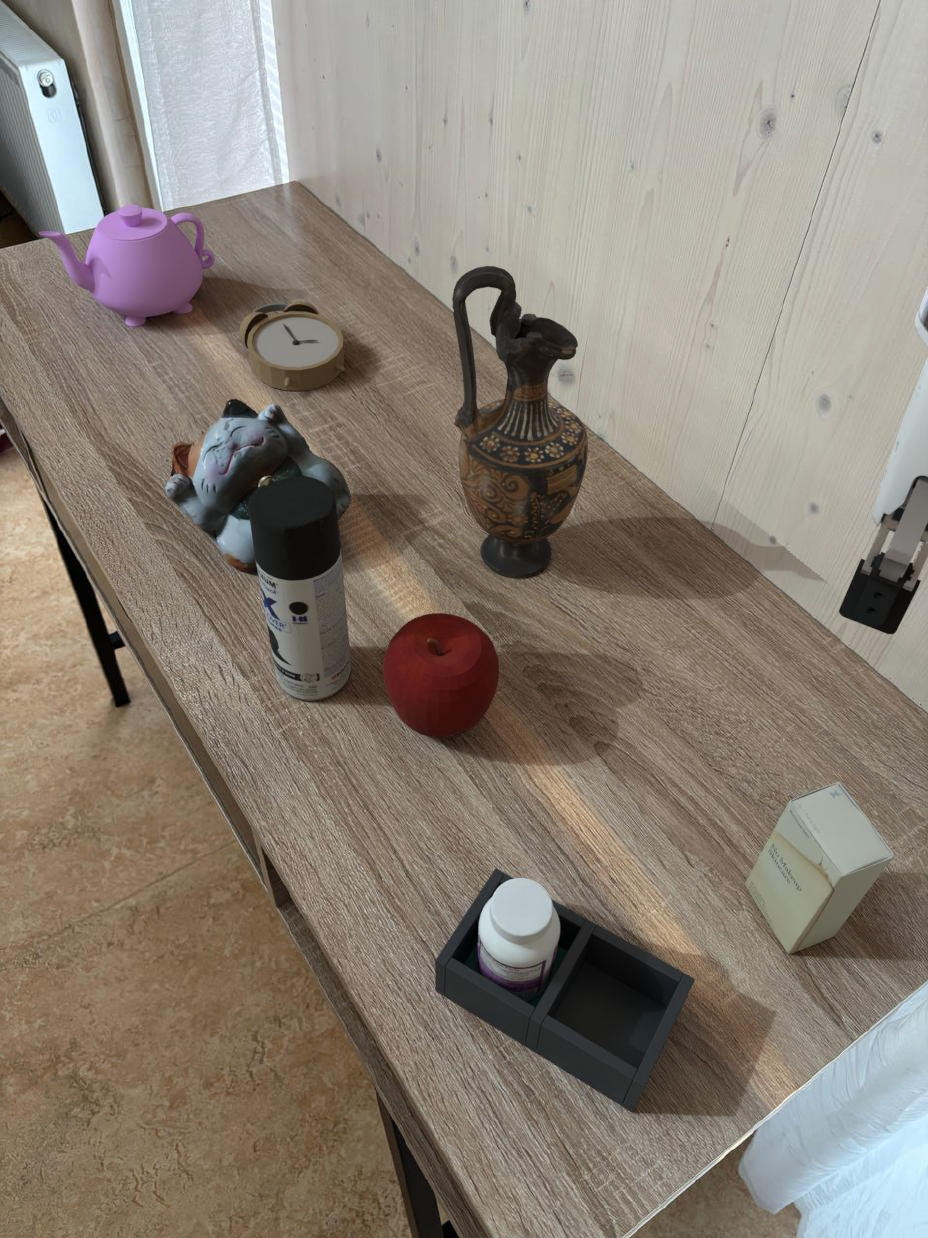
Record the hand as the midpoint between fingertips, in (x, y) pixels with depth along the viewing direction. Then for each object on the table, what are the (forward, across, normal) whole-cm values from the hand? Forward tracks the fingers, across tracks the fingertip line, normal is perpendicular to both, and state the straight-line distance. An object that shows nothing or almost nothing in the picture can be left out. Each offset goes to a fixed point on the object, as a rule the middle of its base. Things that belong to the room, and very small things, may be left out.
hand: (889, 570), depth 60 cm
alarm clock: (+28, +32, +71) cm, 83 cm away
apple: (+28, -5, +28) cm, 40 cm away
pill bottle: (+27, -22, +12) cm, 37 cm away
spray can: (+28, -7, +40) cm, 49 cm away
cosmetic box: (+28, -7, -4) cm, 29 cm away
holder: (+28, -22, +8) cm, 36 cm away
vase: (+28, +16, +33) cm, 46 cm away
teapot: (+28, +31, +94) cm, 103 cm away
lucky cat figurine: (+28, +6, +55) cm, 62 cm away
